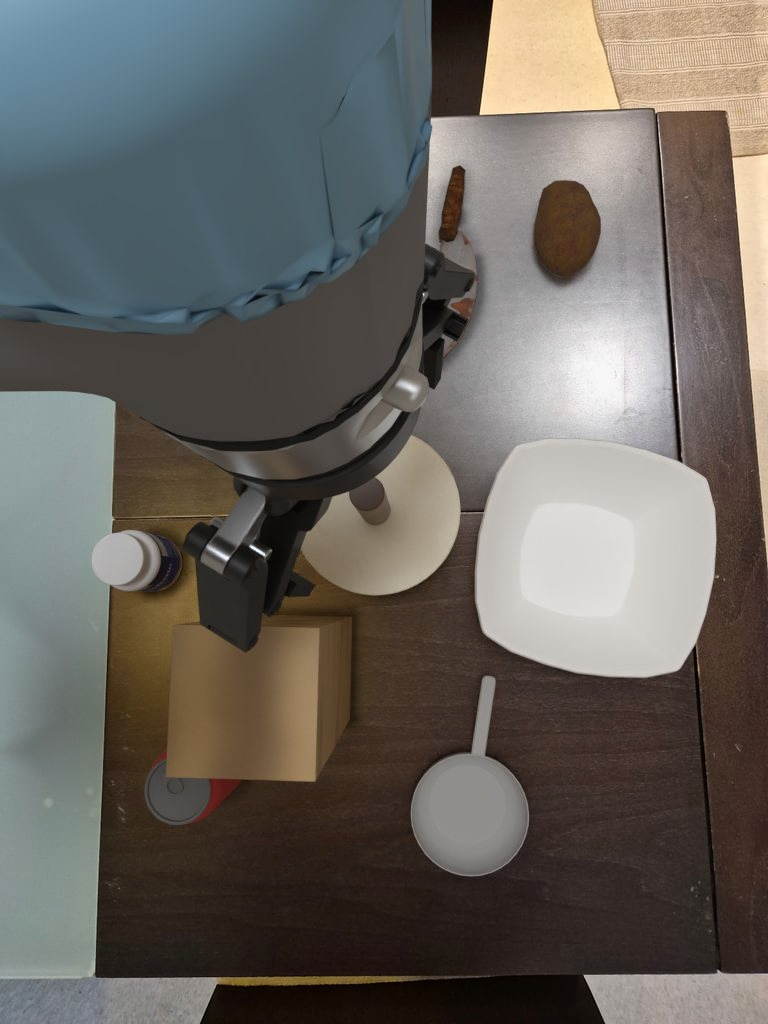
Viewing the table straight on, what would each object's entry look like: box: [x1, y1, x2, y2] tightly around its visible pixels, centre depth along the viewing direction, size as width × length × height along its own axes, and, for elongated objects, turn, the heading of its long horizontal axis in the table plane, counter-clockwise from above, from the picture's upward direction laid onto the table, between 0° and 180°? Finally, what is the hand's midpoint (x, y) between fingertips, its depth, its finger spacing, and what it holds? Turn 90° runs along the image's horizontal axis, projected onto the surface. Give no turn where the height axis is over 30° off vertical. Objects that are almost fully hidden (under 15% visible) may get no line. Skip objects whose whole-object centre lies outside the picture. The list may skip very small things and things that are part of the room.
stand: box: [166, 614, 353, 783], centre depth 61 cm, size 10×10×24 cm
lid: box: [300, 434, 462, 596], centre depth 54 cm, size 14×14×11 cm
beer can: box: [143, 749, 242, 826], centre depth 66 cm, size 7×7×12 cm
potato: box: [533, 179, 602, 279], centre depth 73 cm, size 7×10×6 cm
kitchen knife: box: [438, 165, 479, 359], centre depth 76 cm, size 21×2×5 cm
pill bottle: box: [90, 529, 183, 593], centre depth 70 cm, size 6×6×10 cm
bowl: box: [474, 437, 718, 679], centre depth 68 cm, size 21×21×9 cm
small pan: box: [410, 674, 530, 877], centre depth 69 cm, size 11×18×4 cm, turn 171°
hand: (355, 474), depth 41 cm, fingers open, 13 cm apart
